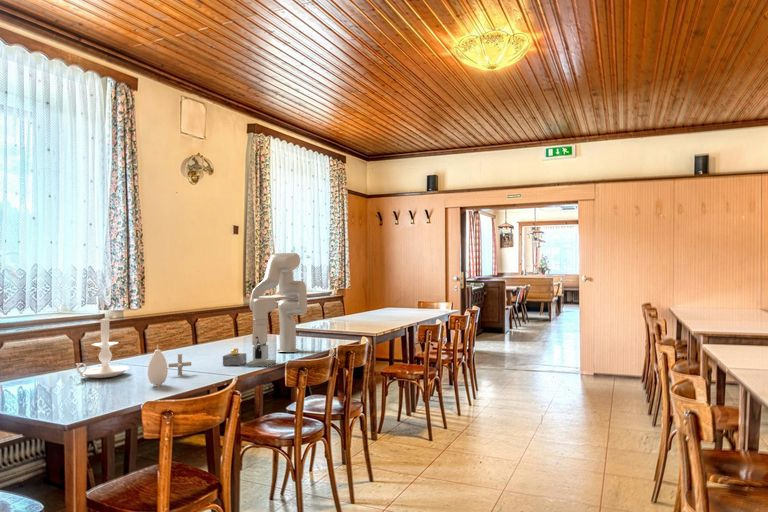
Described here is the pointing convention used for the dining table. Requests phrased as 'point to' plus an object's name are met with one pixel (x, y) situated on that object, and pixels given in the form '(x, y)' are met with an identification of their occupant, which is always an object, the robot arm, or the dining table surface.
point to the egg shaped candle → (157, 368)
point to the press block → (234, 359)
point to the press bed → (260, 363)
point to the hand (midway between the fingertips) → (260, 357)
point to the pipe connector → (179, 364)
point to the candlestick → (103, 357)
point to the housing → (262, 352)
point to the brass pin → (234, 351)
